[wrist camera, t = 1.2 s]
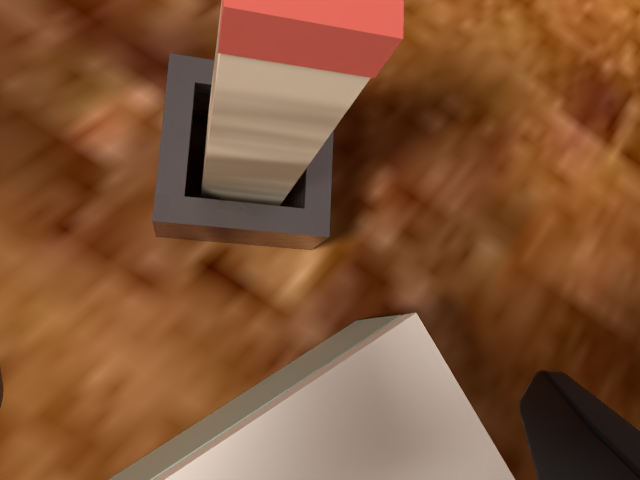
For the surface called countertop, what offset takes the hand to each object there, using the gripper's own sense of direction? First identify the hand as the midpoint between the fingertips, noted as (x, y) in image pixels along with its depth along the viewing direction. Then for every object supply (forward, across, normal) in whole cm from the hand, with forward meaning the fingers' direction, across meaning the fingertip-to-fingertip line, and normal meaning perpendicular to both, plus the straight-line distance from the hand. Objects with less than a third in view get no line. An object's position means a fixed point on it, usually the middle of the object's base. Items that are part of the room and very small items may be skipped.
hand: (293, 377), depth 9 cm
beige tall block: (+15, 0, +4) cm, 16 cm away
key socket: (+15, 0, +4) cm, 16 cm away
